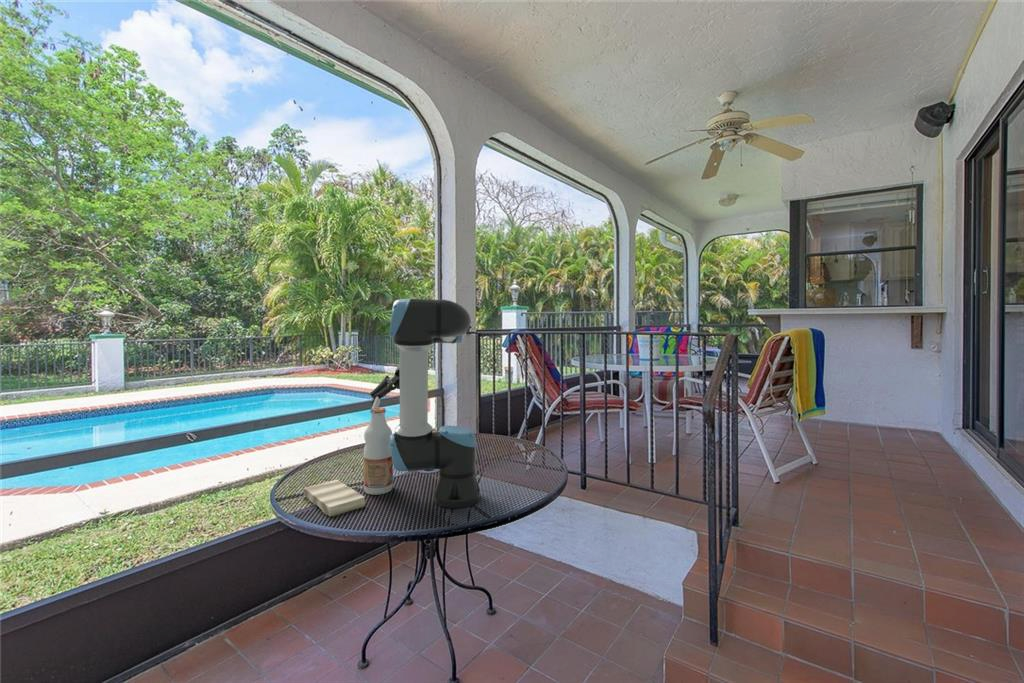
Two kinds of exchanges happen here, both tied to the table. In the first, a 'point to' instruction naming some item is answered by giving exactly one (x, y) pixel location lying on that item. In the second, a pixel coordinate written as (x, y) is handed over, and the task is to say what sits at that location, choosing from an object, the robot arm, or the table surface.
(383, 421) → the fruit juice
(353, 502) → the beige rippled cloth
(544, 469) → the table surface
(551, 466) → the table surface
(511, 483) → the table surface
